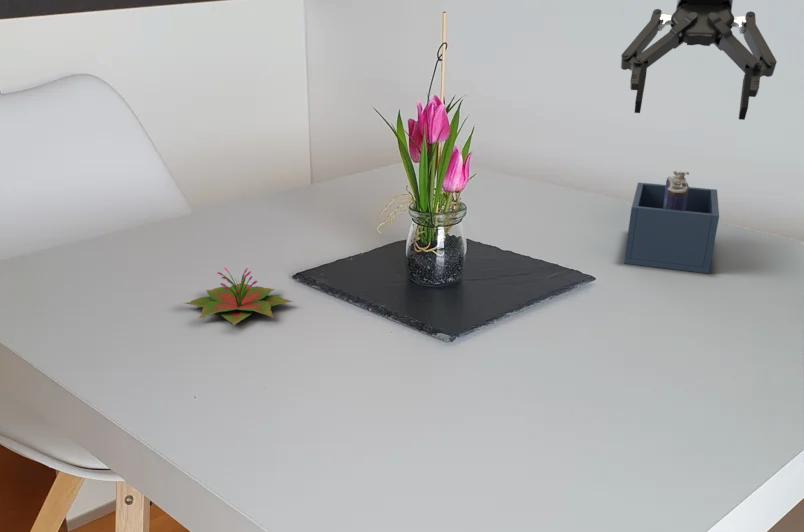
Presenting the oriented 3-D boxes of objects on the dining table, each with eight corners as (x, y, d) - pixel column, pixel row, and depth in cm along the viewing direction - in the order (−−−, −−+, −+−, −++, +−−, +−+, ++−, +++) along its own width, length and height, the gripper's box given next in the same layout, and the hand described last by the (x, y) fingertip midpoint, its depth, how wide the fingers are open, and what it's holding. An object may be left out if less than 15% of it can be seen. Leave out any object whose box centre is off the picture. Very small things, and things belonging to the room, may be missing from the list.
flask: (657, 235, 120) (668, 162, 116) (678, 238, 119) (691, 164, 115) (657, 256, 112) (669, 178, 108) (680, 259, 111) (693, 180, 107)
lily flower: (311, 306, 98) (311, 270, 96) (232, 338, 89) (230, 299, 88) (244, 281, 105) (242, 246, 103) (165, 308, 97) (161, 271, 95)
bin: (707, 242, 120) (717, 189, 117) (708, 273, 108) (719, 215, 105) (630, 233, 124) (637, 182, 121) (623, 263, 112) (631, 207, 109)
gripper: (618, -31, 123) (596, 88, 116) (806, -29, 115) (795, 99, 108) (616, 6, 130) (595, 120, 122) (794, 10, 122) (783, 132, 114)
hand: (689, 110), depth 115 cm, fingers open, 13 cm apart
